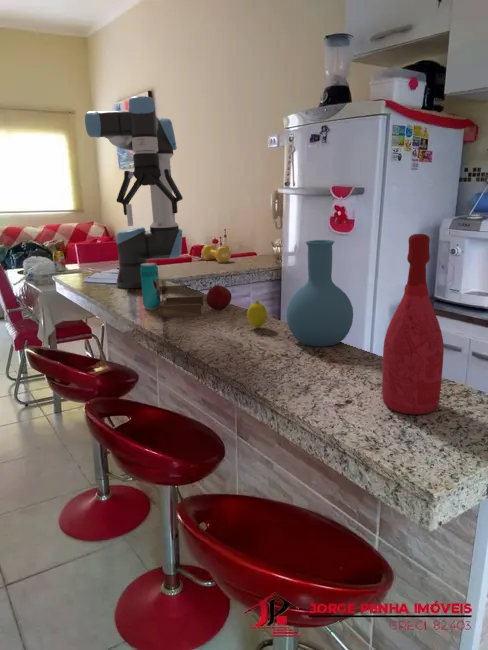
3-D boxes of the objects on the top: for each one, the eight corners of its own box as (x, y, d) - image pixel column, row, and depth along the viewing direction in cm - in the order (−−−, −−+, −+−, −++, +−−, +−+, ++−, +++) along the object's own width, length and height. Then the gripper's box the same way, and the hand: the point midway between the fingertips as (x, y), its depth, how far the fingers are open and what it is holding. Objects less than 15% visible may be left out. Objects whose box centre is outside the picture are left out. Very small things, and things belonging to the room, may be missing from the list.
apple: (215, 314, 158) (214, 289, 156) (203, 309, 165) (201, 285, 163) (236, 310, 162) (235, 285, 160) (223, 305, 169) (221, 282, 167)
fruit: (244, 327, 142) (243, 299, 140) (262, 324, 144) (261, 297, 142) (251, 332, 137) (251, 303, 135) (270, 329, 139) (269, 301, 137)
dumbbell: (232, 262, 267) (231, 246, 264) (217, 263, 262) (216, 248, 260) (215, 258, 282) (214, 243, 280) (200, 260, 278) (199, 245, 275)
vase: (360, 335, 131) (363, 238, 124) (342, 354, 117) (343, 246, 110) (300, 329, 138) (300, 237, 132) (276, 346, 124) (274, 244, 118)
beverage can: (157, 310, 166) (153, 265, 162) (141, 310, 167) (136, 265, 163) (163, 306, 171) (160, 262, 167) (147, 306, 172) (143, 262, 168)
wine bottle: (416, 423, 83) (427, 238, 75) (369, 404, 90) (375, 234, 82) (451, 406, 88) (465, 233, 80) (404, 390, 96) (412, 230, 88)
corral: (164, 307, 170) (163, 297, 169) (203, 305, 170) (202, 295, 169) (159, 317, 157) (158, 306, 156) (201, 315, 157) (200, 304, 156)
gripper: (101, 154, 149) (108, 227, 155) (183, 150, 146) (188, 225, 151) (110, 155, 156) (117, 225, 162) (189, 152, 153) (193, 223, 158)
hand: (151, 225), depth 156 cm, fingers open, 13 cm apart
